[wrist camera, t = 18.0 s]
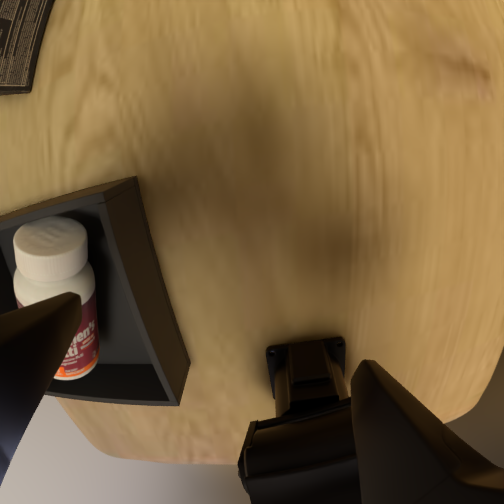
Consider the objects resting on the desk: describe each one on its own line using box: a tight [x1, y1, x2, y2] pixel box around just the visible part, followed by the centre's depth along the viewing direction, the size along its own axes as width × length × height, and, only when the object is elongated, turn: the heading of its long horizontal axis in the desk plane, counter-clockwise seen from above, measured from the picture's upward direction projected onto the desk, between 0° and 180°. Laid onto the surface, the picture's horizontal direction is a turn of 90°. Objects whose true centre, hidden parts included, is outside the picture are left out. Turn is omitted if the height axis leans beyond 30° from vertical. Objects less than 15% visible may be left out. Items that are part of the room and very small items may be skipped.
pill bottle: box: [13, 216, 100, 380], centre depth 19 cm, size 6×6×11 cm
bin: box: [0, 176, 191, 406], centre depth 21 cm, size 16×16×5 cm
